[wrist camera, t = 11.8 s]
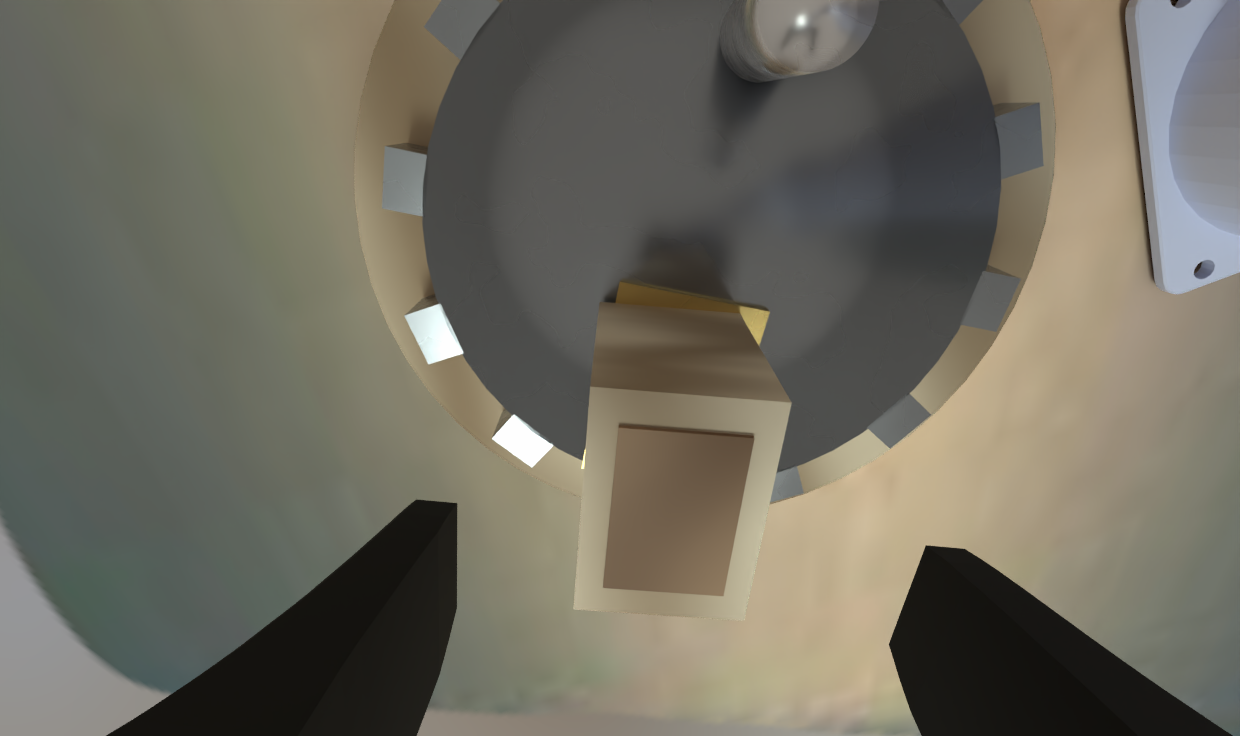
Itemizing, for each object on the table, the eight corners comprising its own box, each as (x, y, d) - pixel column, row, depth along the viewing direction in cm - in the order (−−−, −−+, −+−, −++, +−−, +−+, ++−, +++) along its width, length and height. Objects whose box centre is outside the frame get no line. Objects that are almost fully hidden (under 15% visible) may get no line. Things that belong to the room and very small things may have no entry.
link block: (740, 313, 15) (792, 405, 11) (711, 483, 17) (744, 624, 12) (599, 301, 15) (589, 389, 10) (586, 473, 17) (572, 613, 12)
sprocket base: (958, -386, 12) (1042, -508, 10) (1086, 379, 18) (1155, 419, 16) (218, 40, 15) (141, 27, 13) (551, 572, 21) (542, 631, 19)
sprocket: (1121, -40, 14) (1417, -127, 9) (874, 518, 20) (963, 661, 14) (428, -216, 12) (297, -436, 7) (388, 434, 18) (299, 558, 13)
